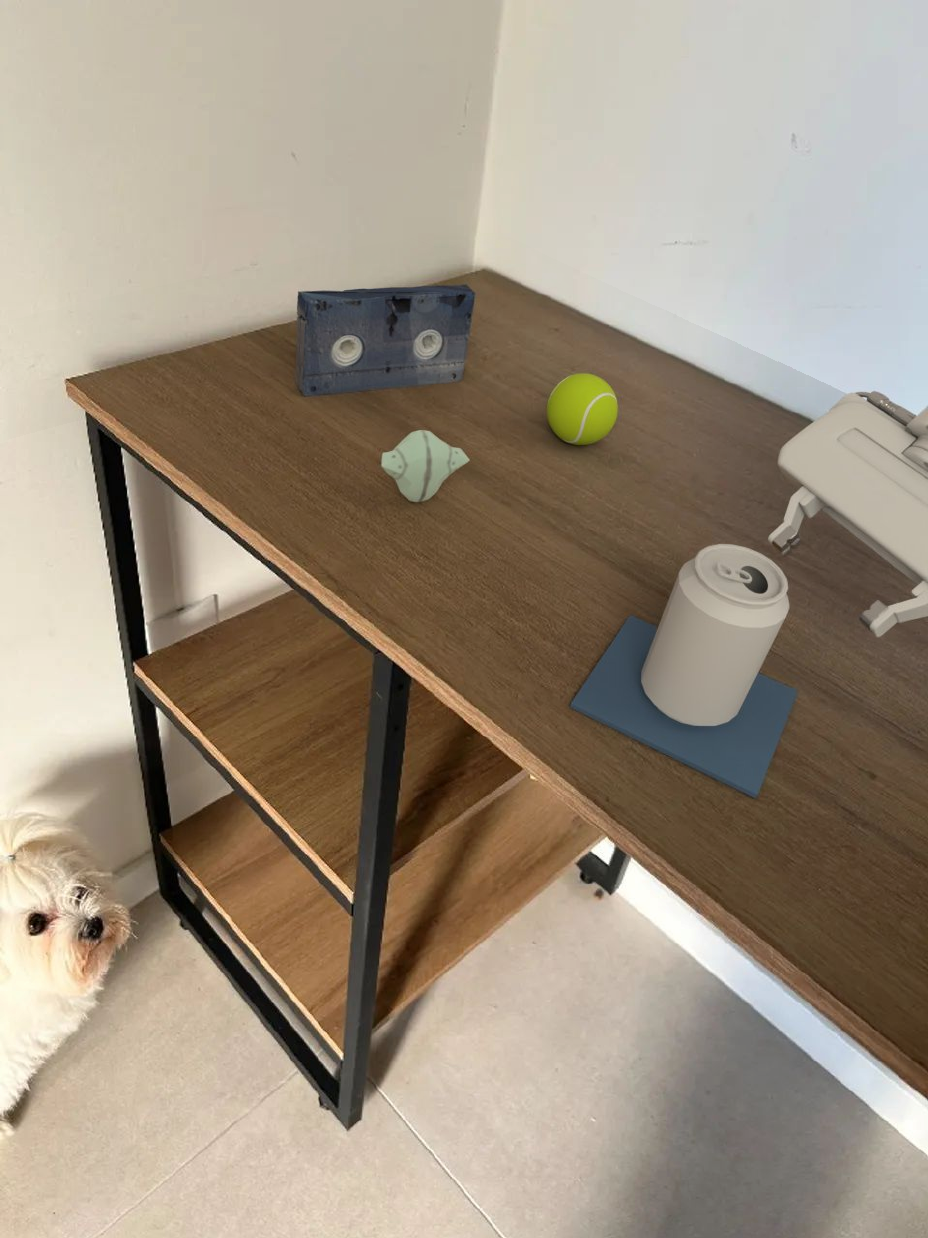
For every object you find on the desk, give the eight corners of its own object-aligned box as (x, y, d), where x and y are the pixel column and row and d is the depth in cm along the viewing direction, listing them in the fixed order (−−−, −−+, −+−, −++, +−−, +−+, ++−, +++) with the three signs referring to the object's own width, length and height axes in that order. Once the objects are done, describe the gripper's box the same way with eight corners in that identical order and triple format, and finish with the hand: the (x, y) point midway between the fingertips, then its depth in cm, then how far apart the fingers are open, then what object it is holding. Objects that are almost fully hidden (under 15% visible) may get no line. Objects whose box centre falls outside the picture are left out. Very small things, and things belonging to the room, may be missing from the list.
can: (746, 740, 66) (812, 614, 58) (644, 728, 66) (696, 599, 58) (726, 666, 72) (784, 542, 64) (631, 655, 71) (678, 528, 63)
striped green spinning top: (378, 516, 81) (385, 449, 76) (366, 489, 83) (372, 423, 79) (465, 509, 83) (476, 444, 79) (450, 483, 86) (460, 419, 82)
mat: (795, 695, 71) (798, 690, 71) (755, 799, 63) (757, 794, 62) (628, 619, 75) (630, 614, 75) (569, 707, 67) (570, 702, 66)
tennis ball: (621, 448, 96) (639, 386, 91) (574, 465, 92) (590, 401, 87) (574, 416, 99) (589, 355, 95) (527, 431, 95) (540, 368, 91)
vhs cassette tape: (454, 370, 103) (467, 282, 96) (465, 383, 101) (479, 294, 95) (292, 382, 96) (295, 288, 89) (301, 397, 94) (304, 302, 87)
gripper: (854, 357, 69) (714, 487, 72) (1099, 511, 57) (921, 664, 59) (869, 403, 74) (737, 524, 76) (1097, 554, 62) (933, 694, 64)
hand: (819, 586), depth 68 cm, fingers open, 8 cm apart
